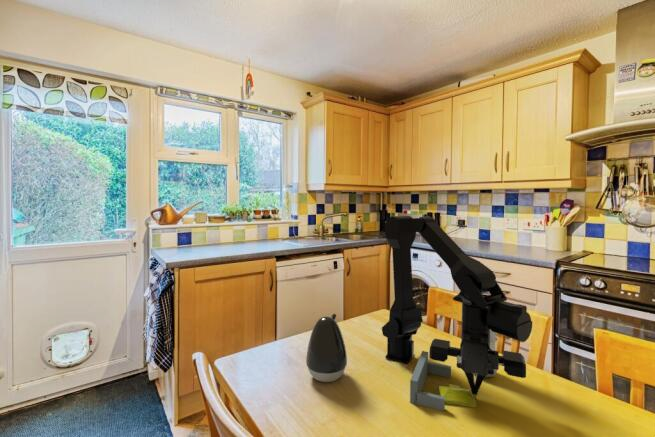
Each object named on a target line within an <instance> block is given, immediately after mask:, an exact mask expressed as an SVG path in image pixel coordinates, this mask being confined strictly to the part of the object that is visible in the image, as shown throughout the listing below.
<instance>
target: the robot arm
mask: <svg viewBox="0 0 655 437" xmlns="http://www.w3.org/2000/svg"><path fill="white" fill-rule="evenodd" d="M384 233H385V239H386V240H387V241H386V242H387V243H388V244H389V246H390V247H391V250H392V251H391V252H392V268H393V269H392V270H393V273H392V274H393V289H394V291H393V292H394V301H393V303H392V305H391V307H390V310H389V316H388V317H389V319H388V321H387V322H386V323H385V324H384V325H383V326H382V327H381V332H382V336H384V337H386V339H387V340H386V341H387V344H386V347H387V348H386V352H387V354H386V355H385V359H386V360H392V361H396V362H400V363H406V364H409V363H410V361H411V360H412V359H413V357H414V355H415V354H414V353H415V349H414V348H415V341H414V340H413V335H417V334H418V330H419V329H420V328H421V326H422V323H423V322H424V320H423V316H422V314H423V310H422V307H421V306H417V304H416V302H415V301H414V292H413V291H414V289H413V273H412V272H413V269H412V268H413V267H412V246H413V244H414V241H415V240H416V235H417V233H418V234H419V235H420V236H421V237H422V238H423V240H425V242H426V243H427V244H428V245H429V246H430V247H431V249H432V250H434V252H435V253H436V254H437V255H438V256H439V257H440V259H441V260H442V261H443V262H444V263H445V265H446V266H447V267H448V269H449V272H450V274H451V278H452V281H453V282H454V284H455V285H456V286H457V288H458V289H459V293H458V294H457V295H455V296H452V300H453V301H454V302H458V303H461V336H460V337H461V340H460V345H459V347H456V346H455V347H454V346H451V341H450V340H447V339H439V338H434V339H433V340H432V341H431V343H430V346H429V351H428V359H430V360H432V361H436V362H437V361H438V362H442V363H445V362H446V361H448V359H449V357H448V356H450V357H453V358H454V357H455V358H456V368H458V369H461V370H462V372H464V375H465V376H466V380H467V383H468V386H469V388H470V390H471V391H472V394H473V395H474V396H477V395H478V393H479V390H480V388H481V385H482V384H483V381H484V380H485V379H486V378H487V377H486V376H487V375H488V374H490V375H493V374H494V369H495V370H497V371H498V370H499V368H500V366H502V367H503V371H504V372H505V373H506V375H508V376H512V377H516V378H521V379H524V378H527V364H526V361H525V356H524V355H523V354H522V353H520V352H513V351H509V350H502V355H499V351H497V350H495V351H493V350H492V349H490V329H491V331H492V332H495V333H496V334H498V335H500V336H501V335H502V336H503V337H507V338H509V339H512V340H515V341H518V342H520V343H525V342H527V340H528V339H529V338H530V336H531V333H532V330H533V320H532V318H531V315H530V313H529V312H528V311H527V309H528V307H527V306H526V305H525V304H519V303H517V304H516V303H512V302H508V301H507V300H508V298H507V296H506V294H505V293H504V291H503V290H502V288H501V287H500V285H499V283H498V282H497V280H496V279H497V277H496V274H495V273H494V271H493V270H492V269H490V267H488V266H487V265H485V264H484V263H482V262H481V261H479V260H478V259H475V258H473V257H472V256H469V255H468V254H467V253H466V252H465V251H464V250H463V249H462V248H461V247H460V246H459V245H458V244H457V243H456V242H455V241H454V240H453V239H452V238H451V237H450V236H449V235H448V234H447V232H445V230H444V229H443V228H442V227H441V226H440V225H439V224H438V223H437V221H436V219H435V218H434V217H432V216H418V217H414V218H413V217H412V216H410V215H397V216H396V215H395V216H394V215H393V216H389V217H388V218H387V219H386V220H385V222H384ZM488 293H489V294H488ZM482 294H487V295H488V296H484V297H483V295H482ZM474 373H476V374H477V375H476V374H474ZM474 375H476V376H474Z"/></svg>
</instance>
